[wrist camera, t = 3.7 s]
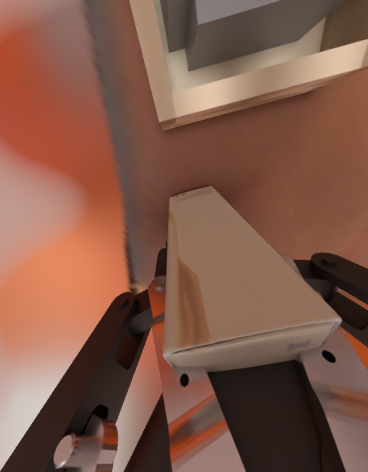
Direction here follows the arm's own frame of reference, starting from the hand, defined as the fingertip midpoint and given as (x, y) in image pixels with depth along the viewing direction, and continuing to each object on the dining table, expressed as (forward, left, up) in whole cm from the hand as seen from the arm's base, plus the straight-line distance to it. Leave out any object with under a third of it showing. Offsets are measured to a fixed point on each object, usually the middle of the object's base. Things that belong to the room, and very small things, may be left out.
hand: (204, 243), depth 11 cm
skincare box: (0, 0, -5) cm, 5 cm away
